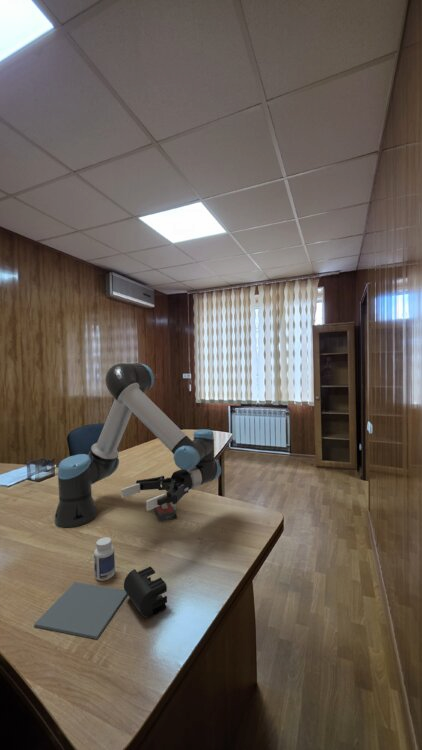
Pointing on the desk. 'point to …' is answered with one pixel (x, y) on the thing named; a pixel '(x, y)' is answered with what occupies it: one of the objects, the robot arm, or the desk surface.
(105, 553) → the pill bottle
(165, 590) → the end cap
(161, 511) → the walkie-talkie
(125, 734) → the desk surface
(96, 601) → the mat
